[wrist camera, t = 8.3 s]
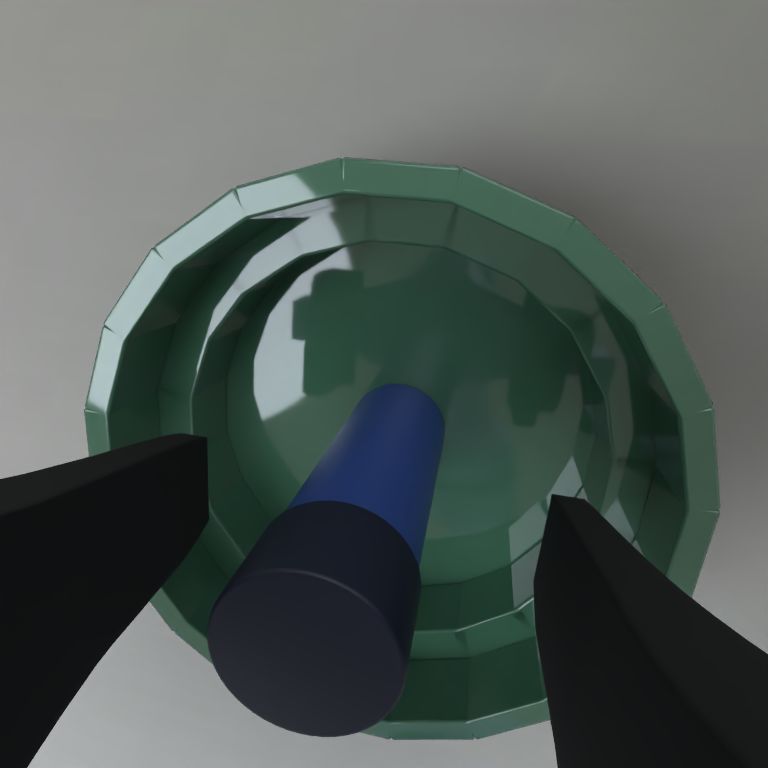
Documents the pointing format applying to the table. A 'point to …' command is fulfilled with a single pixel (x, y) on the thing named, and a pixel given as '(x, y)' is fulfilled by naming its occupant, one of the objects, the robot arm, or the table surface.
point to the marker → (337, 577)
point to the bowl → (431, 376)
